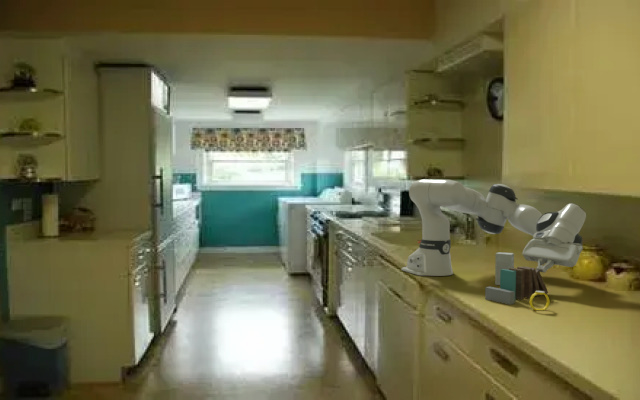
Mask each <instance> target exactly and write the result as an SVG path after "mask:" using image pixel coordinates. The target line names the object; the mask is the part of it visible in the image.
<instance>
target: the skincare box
mask: <svg viewBox="0 0 640 400" xmlns="http://www.w3.org/2000/svg"><path fill="white" fill-rule="evenodd" d="M494 255H495V263H494V264H495V267H494V269H495V274H494V275H495V278H494V279H495V280H494V281H495V282H494V283H495V284H494V285H495V286H500V271H501V269H506V270H509V268H515V253H513V252H496V253H495V254H494Z"/></svg>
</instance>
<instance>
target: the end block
mask: <svg viewBox="0 0 640 400" xmlns="http://www.w3.org/2000/svg"><path fill="white" fill-rule="evenodd" d="M484 290H485V295H484V296H485V297H484V300H488V301H491V300H492V301H491V302H497V303H500V302H501V303H500V304H504V303H505V305H515V301H516V299H515V292H514V291H510V290H505V289H500V287H499V288H498V287H493V286H485V289H484ZM514 300H515V301H514Z"/></svg>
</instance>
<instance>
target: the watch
mask: <svg viewBox="0 0 640 400" xmlns="http://www.w3.org/2000/svg"><path fill="white" fill-rule="evenodd" d="M537 294H540V295H541V296H545V298H546V303H545V306H544V307H541V308H536V307H534V305H533V300H534V298H535V297H536V295H537ZM543 294H544V295H543ZM550 303H551V302H550V298H549V296H548V294H545V292H544V291H535V293H534V294H532V296H531V297H530V298H529V305H530V308H531V309H532V310H534V311H535V310H539V311H541V310H542V311H544V310H545V311H546V310H547V309H548V308H549V306H550Z"/></svg>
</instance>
